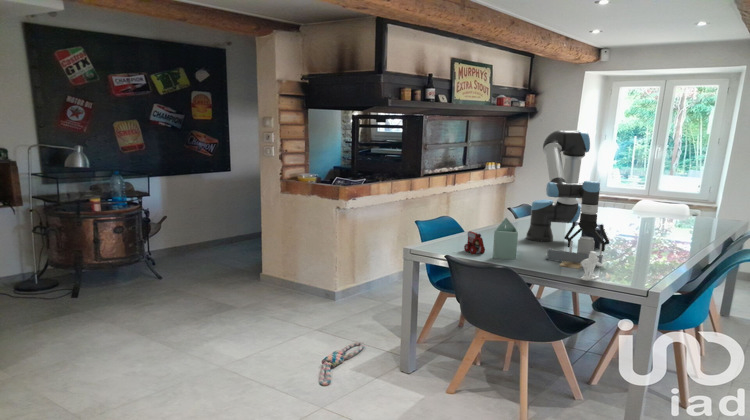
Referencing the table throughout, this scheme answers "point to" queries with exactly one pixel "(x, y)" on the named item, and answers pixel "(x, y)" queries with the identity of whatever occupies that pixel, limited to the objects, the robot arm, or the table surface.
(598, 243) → the box
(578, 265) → the coaster
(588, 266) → the figurine
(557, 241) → the table surface
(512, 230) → the planter
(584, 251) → the can
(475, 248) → the toy fire truck
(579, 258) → the wall
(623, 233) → the table surface
